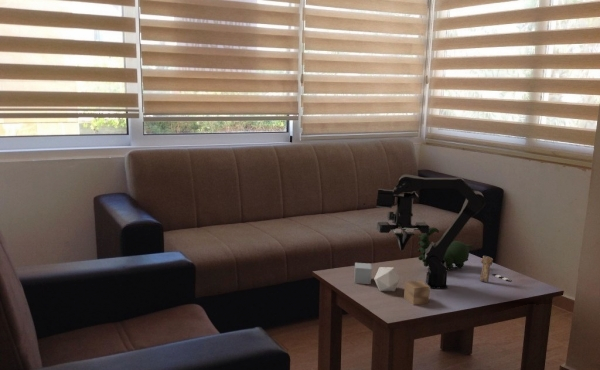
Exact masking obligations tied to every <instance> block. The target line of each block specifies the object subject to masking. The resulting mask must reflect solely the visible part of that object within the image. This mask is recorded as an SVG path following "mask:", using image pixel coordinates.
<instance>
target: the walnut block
mask: <svg viewBox="0 0 600 370" xmlns="http://www.w3.org/2000/svg"><path fill="white" fill-rule="evenodd" d="M430 289H431V288H430V287H429V286H428V284H427V283H426V282H423V281H422V280H414V281H413V280H411V281H405V282H404V289H403V290H404V292H403V293H404V294H403V299H404V300H406V301H407V302H408V301H409V302H408V303H410V304H411V305H412V304H413V305H412V306H416V305H423V304H428V303H429V299H430Z"/></svg>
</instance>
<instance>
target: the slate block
mask: <svg viewBox="0 0 600 370" xmlns="http://www.w3.org/2000/svg"><path fill="white" fill-rule="evenodd" d="M353 274H354V276H353V277H354V280H353V281H354V284H364V285H365V284H366V285H371V283H372V263H364V262H354V273H353Z"/></svg>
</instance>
